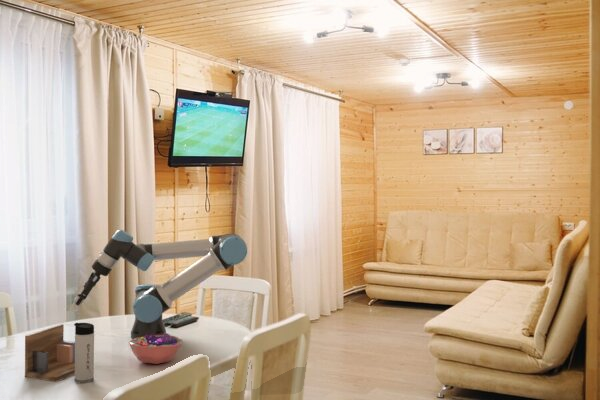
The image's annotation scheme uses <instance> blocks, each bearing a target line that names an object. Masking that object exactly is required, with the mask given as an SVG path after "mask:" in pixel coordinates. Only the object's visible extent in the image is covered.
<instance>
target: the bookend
mask: <svg viewBox="0 0 600 400" xmlns="http://www.w3.org/2000/svg"><path fill="white" fill-rule="evenodd" d="M47 372H48V352H43V351H36V350H35V351H33V369H32V370H30V371H28V373H33V374H39V375H42V374H44V373H47Z"/></svg>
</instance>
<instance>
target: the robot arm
mask: <svg viewBox="0 0 600 400" xmlns="http://www.w3.org/2000/svg"><path fill="white" fill-rule="evenodd" d="M133 240H134V237H133V236H132V235H131V234H130V233H128V231H126V230H123V229H117V230H116V231H115V233H114V234H113V235H112V237H110V240H108V242H107V244H106V245H105V246H104V248H103V250H102V251H99V252H98V253H99V255H98V257H97V259H95V261H94V262H93V263H92V264H91V269H93V271H94V272H93V271H92V272H91V273H90V275H89V277H88V278H87V281H86V282H85V283H84V285H83V287H81V289H80V290H79V292H78V294H77V295H76V296H75V298H74V299H73V303H72V305H71V306H70V307H69V311H71V312H73V313H77V311H78V310H79V309H80V307H81V305H82V304H83V303H84V301H85V300H87V297H88V296H89V294H90V292H91V291H92V289H93V288H94V287H95V286H96V284H97V283H98V282H100V280H101V276H103V277H107V276H109V274H110V273H111V271H112V269H114V268H115V266H116V264H118V262H119V260H120V258H122V259H123V260H125V261H127V262H128V263H129V264H132V265H133V266H134V267H135V268H137V269H139V270H140V271H142V272H147V271H148V270H149V268H150V267H151V266H152V264H153V262H156V261H163V260H164V261H166V260H176V259H177V260H178V259H189V258H199V257H200V259H198V260H197V261H195V262H194V263H192V264H191V265H189V266H188V267H186V268H185V269H183V270H182V271H181V272H178V273H177V274H176V275H174V276H173V277H171V278H170V279H168V280H166V281H165V282H163V283H162V284H152V283H151V284H138V285H136V286H135V290H134V293H135V294H134V296H135V298H134V302H133V304H132V311H133V314H134V322H133V325H132V328H131V330H130V338H131V340H133V339H135V338H138V337H145V335H148V336H151V335H152V334H153V335H154V334H155V335H163V334H164V333H167V329H166V327H165V323H164V321H163V320H164V319H163V313H165V312H166V311H168V310H170V309H171V308H172V305H173V302H175V301H176V300H178V299H179V298H181V297H183V296H184V295H185V294H186V293H187V294H188V293H189V292H190V291H191V290H193V289H194V288H196V287H197V286H199V285H200V284H201V283H203V282H204V281H206V280H207V279H210V277H212V276H213V275H215V274H216V273H217V272H219V271H227V270H229V269H230V268H231V267H233V266H236V265H238V264H241V263H242V262H243V261H244V260H245V259H246V258H247V255H248V245H247V243H246V242H245V240H244V238H243V237H241V236H240V235H238V234H235V233H224V234H221V235H212V236H210V237H209V238H206V239H205V238H204V239H193V240H182V241H170V242H169V241H168V242H159V243H146V244H144V243H139V244H135V243H134V242H133Z"/></svg>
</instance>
